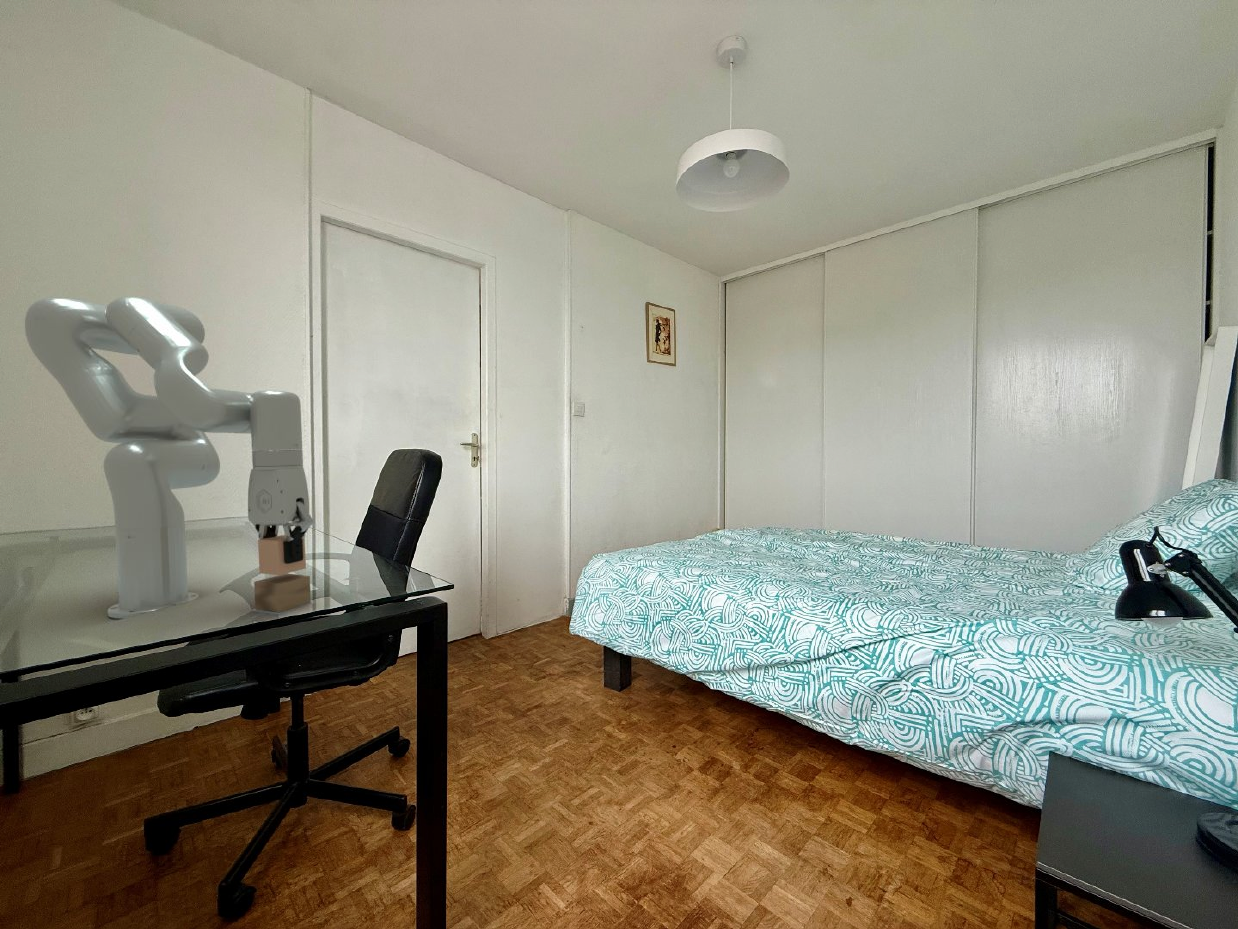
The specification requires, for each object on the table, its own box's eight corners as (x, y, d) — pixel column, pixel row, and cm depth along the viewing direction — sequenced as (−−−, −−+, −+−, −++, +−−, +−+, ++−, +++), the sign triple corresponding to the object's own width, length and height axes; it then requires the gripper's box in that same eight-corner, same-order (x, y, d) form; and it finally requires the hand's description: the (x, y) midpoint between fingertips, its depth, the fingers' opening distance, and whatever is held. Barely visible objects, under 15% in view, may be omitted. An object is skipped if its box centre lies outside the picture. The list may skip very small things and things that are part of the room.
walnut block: (255, 609, 89) (254, 581, 89) (287, 599, 95) (286, 573, 95) (279, 613, 87) (277, 584, 87) (310, 602, 93) (309, 576, 93)
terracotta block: (259, 573, 89) (257, 539, 89) (286, 566, 94) (285, 534, 94) (279, 575, 88) (277, 541, 87) (305, 568, 92) (304, 536, 92)
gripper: (224, 461, 89) (229, 562, 90) (292, 461, 84) (296, 569, 84) (266, 460, 96) (270, 553, 97) (331, 459, 91) (335, 559, 91)
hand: (282, 559), depth 91 cm, fingers closed on terracotta block, 4 cm apart
